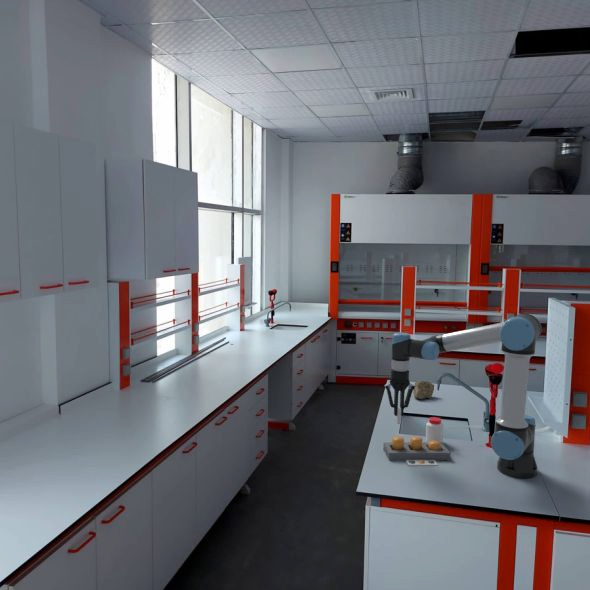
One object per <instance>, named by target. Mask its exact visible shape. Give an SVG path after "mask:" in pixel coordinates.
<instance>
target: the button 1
mask: <svg viewBox="0 0 590 590" xmlns="http://www.w3.org/2000/svg"><path fill="white" fill-rule="evenodd" d="M404 441H405V438H404V437H401V436H393V437H392V438H391V442H392V449H393V450H404Z"/></svg>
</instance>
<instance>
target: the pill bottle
mask: <svg viewBox="0 0 590 590" xmlns="http://www.w3.org/2000/svg"><path fill="white" fill-rule="evenodd" d="M425 424H426V426H425V442H429V441H438V442H442V443H443V444H444V429H445V428H444V427H445V426H444V424H443V422H442V418H441V417H438V416H437V417H436V416H431V417H429V418H428V421H427V422H426V423H425Z"/></svg>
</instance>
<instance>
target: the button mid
mask: <svg viewBox="0 0 590 590" xmlns="http://www.w3.org/2000/svg"><path fill="white" fill-rule="evenodd" d="M409 439H410V441H409V442H410V449H411V450H422V442H423V438H422V437H420V436H411V437H410V438H409Z"/></svg>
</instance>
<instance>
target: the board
mask: <svg viewBox="0 0 590 590" xmlns="http://www.w3.org/2000/svg"><path fill="white" fill-rule="evenodd" d="M440 443H441V445H440V450H429V449H428V447H429V442H426V441H425V442H424V441H422V450H411V449H410V441H408V442H404V450H393V449H392V441H391V442H389V441H387V442H383V451H384V454H385V455H386V458H387V459H388V461H406V460H435V461H437V460H439V461H441V460H442V461H444V460H445V461H446V460H447V461H450V460H451V452H450V450H449V449H448V448H447V447H446V446H445V444H444V442H443V443H442V442H440Z"/></svg>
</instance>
